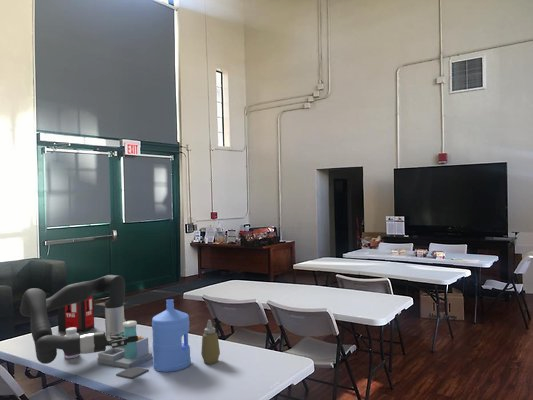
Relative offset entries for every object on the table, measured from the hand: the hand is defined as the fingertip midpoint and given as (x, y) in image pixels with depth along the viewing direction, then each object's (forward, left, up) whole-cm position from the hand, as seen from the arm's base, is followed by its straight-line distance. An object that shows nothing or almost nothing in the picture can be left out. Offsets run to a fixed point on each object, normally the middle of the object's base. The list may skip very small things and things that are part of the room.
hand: (136, 336), depth 179 cm
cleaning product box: (-34, -80, -15) cm, 88 cm away
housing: (-9, -16, -15) cm, 24 cm away
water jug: (-12, +8, -15) cm, 21 cm away
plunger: (-12, -12, -10) cm, 19 cm away
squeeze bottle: (-22, +21, -15) cm, 34 cm away
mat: (+1, -2, -15) cm, 15 cm away
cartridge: (+2, -2, -8) cm, 8 cm away
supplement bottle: (-3, -44, -15) cm, 46 cm away
